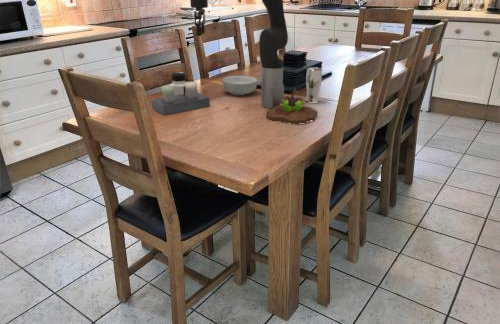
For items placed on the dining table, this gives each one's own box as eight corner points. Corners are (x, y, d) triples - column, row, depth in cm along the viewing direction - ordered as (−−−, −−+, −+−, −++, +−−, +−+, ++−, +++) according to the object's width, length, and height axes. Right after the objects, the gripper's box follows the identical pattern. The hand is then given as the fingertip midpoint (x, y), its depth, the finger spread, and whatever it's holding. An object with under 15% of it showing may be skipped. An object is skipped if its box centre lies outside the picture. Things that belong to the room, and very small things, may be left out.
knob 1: (177, 102, 173) (175, 87, 170) (165, 104, 170) (164, 88, 168) (171, 99, 177) (170, 84, 174) (160, 101, 174) (159, 86, 171)
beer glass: (302, 102, 184) (304, 69, 178) (307, 98, 190) (309, 66, 184) (317, 104, 182) (319, 71, 175) (322, 100, 187) (324, 68, 181)
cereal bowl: (242, 100, 188) (242, 85, 185) (215, 94, 197) (215, 80, 194) (263, 92, 200) (264, 78, 197) (237, 87, 209) (237, 73, 206)
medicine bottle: (184, 101, 187) (182, 75, 182) (170, 100, 188) (167, 74, 183) (189, 96, 193) (188, 71, 188) (175, 96, 195) (173, 71, 189)
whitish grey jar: (199, 98, 179) (199, 83, 176) (189, 100, 176) (188, 85, 173) (194, 95, 183) (193, 81, 180) (183, 97, 180) (182, 82, 177)
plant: (323, 114, 170) (325, 88, 166) (304, 128, 155) (306, 99, 150) (281, 107, 180) (282, 82, 175) (259, 119, 164) (259, 92, 160)
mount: (209, 106, 179) (209, 97, 178) (163, 115, 168) (162, 106, 166) (196, 100, 188) (196, 91, 186) (152, 108, 177) (151, 99, 175)
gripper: (204, -4, 170) (206, 36, 176) (209, -5, 182) (211, 32, 189) (187, -4, 170) (189, 36, 177) (193, -5, 183) (195, 32, 190)
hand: (200, 34), depth 183 cm, fingers open, 8 cm apart
